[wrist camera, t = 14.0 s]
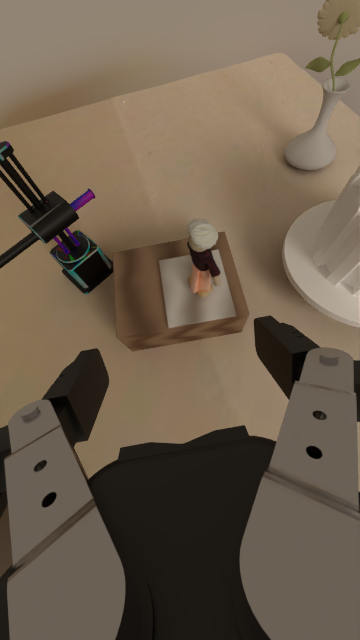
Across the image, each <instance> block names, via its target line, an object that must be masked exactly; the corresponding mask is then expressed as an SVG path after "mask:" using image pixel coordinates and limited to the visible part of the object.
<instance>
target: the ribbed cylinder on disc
mask: <svg viewBox="0 0 360 640" xmlns="http://www.w3.org/2000/svg"><path fill="white" fill-rule="evenodd" d="M282 261H283V266H284V269H285V272H286V275H287V277H288V279H289V281H290V282H291V284H292V286H293V287H294V288H295V290H296V291H297V292H298V293H299V294H300V295H301V297H302V298H303V299H304V300H306V301H307V302H308V303H309V304H310V305H312V306H313V307H314V308H316V309H317V310H318V311H320V312H322V313H323V314H325V315H327V316H329V317H331V318H333V319H335V320H337V321H339V322H342V323H345V324H348V325H351V326H355V327H359V328H360V166H359V168H358V169H357V171H356V172H355V174H354V175H353V176H352V177H351V178H350V179H349V181H348V183H347V184H346V186H345V188H344V189H343V191H342V193H341V194H340V196H339V197H338V199H336V200H331V201H327V202H324V203H321V204H318V205H316V206H314V207H312V208H310V209H308V210H307V211H305V212H304V213H303V214H301V215H300V216H299V217H298V218H297V219H296V220H295V221H294V222H293V224H292V225H291V227H290V229H289V231H288V233H287V235H286V237H285V240H284V243H283V248H282Z"/></svg>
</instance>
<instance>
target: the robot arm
mask: <svg viewBox="0 0 360 640" xmlns="http://www.w3.org/2000/svg"><path fill="white" fill-rule="evenodd" d="M254 332H255V347H256V352H257V355H258V357H259V359H260V360H261V361H262V363H263V364H264V366H265V367H266V368H267V370H268V371H269V373H270V374H271V375H272V377H273V378H274V380H275V381H276V382H277V384H278V385H279V387H280V388H281V389H282V391H283V392H284V393H285V395H286V396H287V398H288V399H289V403H288V406H287V409H286V412H285V416H284V419H283V422H282V426H281V429H280V432H279V436H278V439H277V442H276V441H273V440H271V439H267V438H263V437H258V436H249V435H248V432H247V430H246V427H245V425H243V426H237V427H232V428H226V429H221V430H216V431H212V432H210V433H208V434H205V435H203V436H201V437H198V438H196V439H194V440H191V441H189V442H187V443H184V444H172V443H154V442H150V443H144V444H139V445H133V446H128V447H122V448H120V452H119V457H118V460H116V461H114V462H112V463H110V464H108V465H106V466H105V467H103V468H102V469H100V470H99V471H98V472H97V473H95V474H94V475H93V476H92V477H91V478H90V479H88V477H87V474H86V472H85V470H84V468H83V466H82V464H81V462H80V460H79V457H78V455H77V453H76V451H75V449H74V446H75V443H76V442H82V441H87V440H88V439H89V436H90V433H91V431H92V428H93V425H94V423H95V420H96V417H97V415H98V412H99V409H100V407H101V404H102V401H103V399H104V396H105V393H106V391H107V388H108V385H109V377H108V373H107V370H106V367H105V365H104V362H103V359H102V356H101V354H100V351H99V350H98V349H97V348H96V349H90V350H85V351H81V352H80V354H79V355H78V356H77V358H76V359H75V361H74V362H72V363H71V364H70V365H69V366H67V367H66V368H65V369H64V370H63V371H62V372H61V374H60V375H59V377H58V378H57V379H56V381H55V383H53V385H52V386H51V387H50V389H49V390H48V391H47V393H46V394H45V395H44V397H43V398H42V400H38V401H35V402H32V403H30V404H28V405H26V406H24V407H23V408H21V409H20V410H19V411H17V412H16V413H15V414H14V415H13V416H12V417H11V419H10V420H9V423H8V425H7V426H5V427H2V428H0V640H360V492H359V491H358V451H357V422H360V361H356V360H353V358H352V357H351V356H350V355H349V354H348V353H346V352H344V351H341V350H338V349H334V348H321V347H319V346H318V345H317V344H315V343H314V342H313V341H312V340H310V339H309V338H308V337H306V336H305V335H304V334H302V333H301V332H299V330H297V329H296V328H295V327H293V326H291V325H288V324H285V323H279V322H278V321H277V320H275V319H274V318H273V317H272V316H265V317H260V318H255V319H254Z"/></svg>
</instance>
